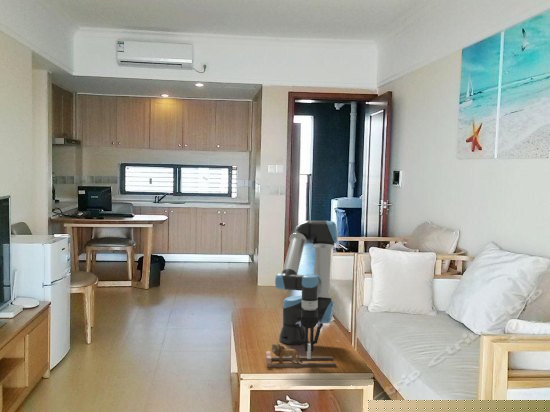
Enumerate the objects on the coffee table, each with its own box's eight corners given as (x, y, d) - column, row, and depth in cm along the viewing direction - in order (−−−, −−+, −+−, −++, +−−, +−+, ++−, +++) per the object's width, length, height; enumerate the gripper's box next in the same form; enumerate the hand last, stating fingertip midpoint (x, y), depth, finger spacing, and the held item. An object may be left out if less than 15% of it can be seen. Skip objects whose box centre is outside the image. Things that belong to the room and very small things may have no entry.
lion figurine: (270, 364, 247) (271, 345, 247) (271, 360, 253) (272, 341, 252) (302, 365, 246) (302, 346, 246) (302, 361, 251) (303, 342, 251)
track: (265, 359, 253) (265, 351, 253) (332, 358, 255) (332, 350, 255) (266, 367, 243) (266, 358, 243) (336, 366, 245) (336, 357, 245)
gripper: (296, 310, 244) (295, 360, 246) (324, 310, 245) (323, 360, 246) (294, 306, 251) (294, 355, 253) (322, 306, 252) (321, 355, 254)
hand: (308, 357), depth 250 cm, fingers closed
